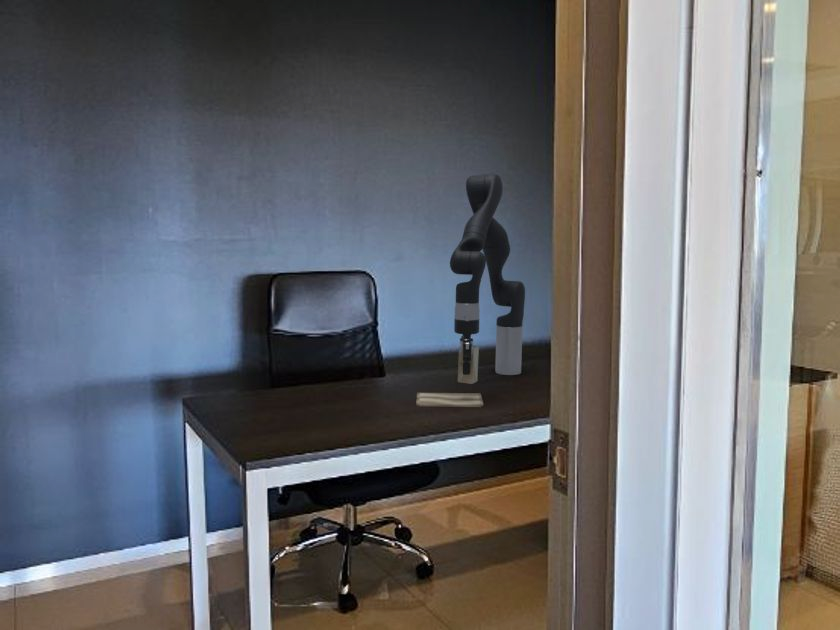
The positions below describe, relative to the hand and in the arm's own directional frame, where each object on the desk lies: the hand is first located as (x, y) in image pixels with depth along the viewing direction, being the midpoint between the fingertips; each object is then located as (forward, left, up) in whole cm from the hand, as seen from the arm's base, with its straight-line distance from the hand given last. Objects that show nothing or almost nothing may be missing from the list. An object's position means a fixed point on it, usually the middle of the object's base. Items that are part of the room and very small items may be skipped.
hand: (465, 371), depth 225 cm
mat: (0, -5, -9) cm, 10 cm away
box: (0, +1, -3) cm, 3 cm away
